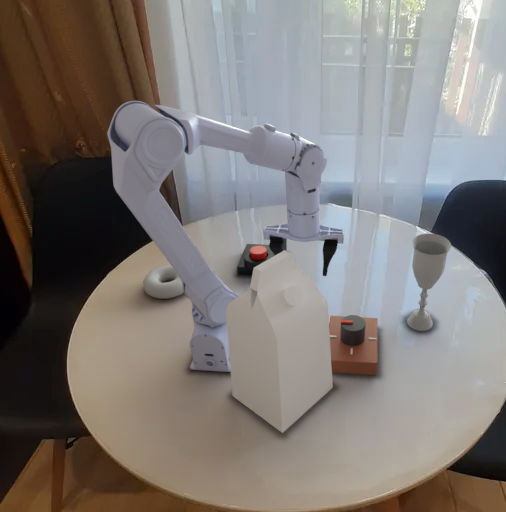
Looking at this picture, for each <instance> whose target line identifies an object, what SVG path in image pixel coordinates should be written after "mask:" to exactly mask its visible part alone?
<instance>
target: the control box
mask: <svg viewBox="0 0 506 512" xmlns="http://www.w3.org/2000/svg"><path fill="white" fill-rule="evenodd" d="M254 246H264V247H265V248H266V251H267V257H266V258H265V259H262V260H253V259H251V256H250V249H251V248H252V247H254ZM273 256H275V255H274V253H273V252H272V251H271V250H270V247H269V244H260V243H258V244H257V243H246V245H245V247H244V249H243V252H242V254H241V257H240V259H239V261H238V263H237V265H236V271H237V276H248V277H249V276H250V277H252V274H253V269H254V267H256V266H258V265H259V264H261V263H263V262H265V261H266V260H268V259H270V258H272V257H273Z"/></svg>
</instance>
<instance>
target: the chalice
mask: <svg viewBox="0 0 506 512" xmlns="http://www.w3.org/2000/svg"><path fill="white" fill-rule="evenodd" d="M411 242H412V243H411V244H412V247H413V254H412V255H413V256H412V261H411V267H412V272H413V275H414V278H415V281H416V283H417V285H418V287H419V288H420V289H422V290H421V292H420V293H419V296H420V300H418V302H417V303H418V305H419V308H416V309H415V310H413V311H412V312H411V313H410V315H409V316H408V317H407V320H406V321H407V322H406V324H407V326H408V327H410V328H411V329H412V330H415V331H419V332H424V331H429V330H430V329H432V328H433V325H434V324H433V320H432V317H431V314H430V312H429V311H428V310H426V309H425V308H426V306H427V305H428V301H427V298H428V297H429V294H428V290H431V289H432V288H433V287H434V286H435V285H436V283H437V282H438V281H439V280H440V279H441V277H442V275H443V273H444V271H445V268H446V262H447V257H448V253H449V252H450V250H451V249H452V244H451V241H450V240H449V239H448V238H447V237H445V236H442V235H440V234H437V233H422V234H418V235H416V236H415V237H414V238H413V239H412V241H411Z"/></svg>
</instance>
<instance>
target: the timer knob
mask: <svg viewBox="0 0 506 512" xmlns="http://www.w3.org/2000/svg"><path fill="white" fill-rule="evenodd" d="M365 326H366V322H365V320H364V319H363V318H362V316H359V315H356V314H349V315H346V317H344V318H343V319H342V320H341V330H340V338H341V341H342V342H343V343H344V344H346V345H349V346H357V345H360V344H361V343H363V342H364V340H365Z"/></svg>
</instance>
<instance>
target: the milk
mask: <svg viewBox="0 0 506 512" xmlns="http://www.w3.org/2000/svg"><path fill="white" fill-rule="evenodd" d="M226 320H227V332H228V345H229V358H230V371H231V372H230V382H231V383H230V384H231V394H232V397H233V398H234V399H236V400H237V401H238V402H240V403H241V404H242V405H244V406H245V407H246V408H248V409H249V410H251V411H252V412H253V413H254V414H256V415H258V416H259V417H260V418H262V419H263V420H264V421H265V422H267V423H268V424H269V425H271V426H272V427H273V428H275V429H276V430H277V431H279V432H280V433H281V434H283V433H284V432H286V431H287V430H288V429H289V428H290V427H291V426H292V425H293V424H294V423H296V422H297V421H298V420H299V419H300V418H301V417H302V416H303V415H305V413H307V412H308V411H309V410H310V409H311V408H312V407H313V406H314V405H316V404H317V403H318V402H319V401H320V400H321V399H322V398H323V397H325V395H327V394H328V393H329V392H330V391H331V390H332V389H333V373H332V367H331V350H330V332H329V322H330V315H329V304H328V302H327V299H326V297H325V296H324V294H323V293H322V292H321V291H320V289H319V288H318V287H317V286H316V285H315V283H313V281H312V280H311V278H309V276H308V275H307V274H306V273H305V272H304V271H303V270H302V268H301V267H300V266H299V264H298V262H297V261H296V258H295V257H294V255H293V253H291V252H289V251H285V250H284V251H282V252H280V253H279V254H277V255H275V256H273V257H272V258H270V259H268V260H266V261H265V262H263V263H261V264H259V265H258V266H256V267H254V269H253V274H252V276H251V279H250V285H249V288H248V289H247V290H246V291H244V292H243V293H241V294H240V295H238V297H237V298H236V299H234V300H233V301H231V302H230V303H229V304H228V306H227V308H226Z"/></svg>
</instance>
